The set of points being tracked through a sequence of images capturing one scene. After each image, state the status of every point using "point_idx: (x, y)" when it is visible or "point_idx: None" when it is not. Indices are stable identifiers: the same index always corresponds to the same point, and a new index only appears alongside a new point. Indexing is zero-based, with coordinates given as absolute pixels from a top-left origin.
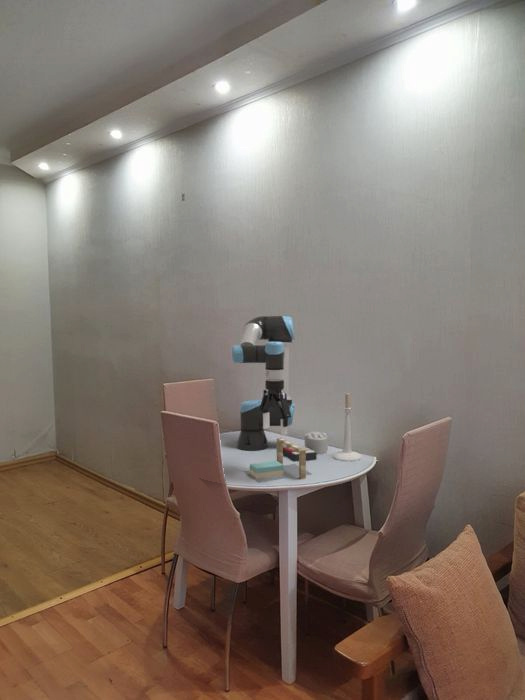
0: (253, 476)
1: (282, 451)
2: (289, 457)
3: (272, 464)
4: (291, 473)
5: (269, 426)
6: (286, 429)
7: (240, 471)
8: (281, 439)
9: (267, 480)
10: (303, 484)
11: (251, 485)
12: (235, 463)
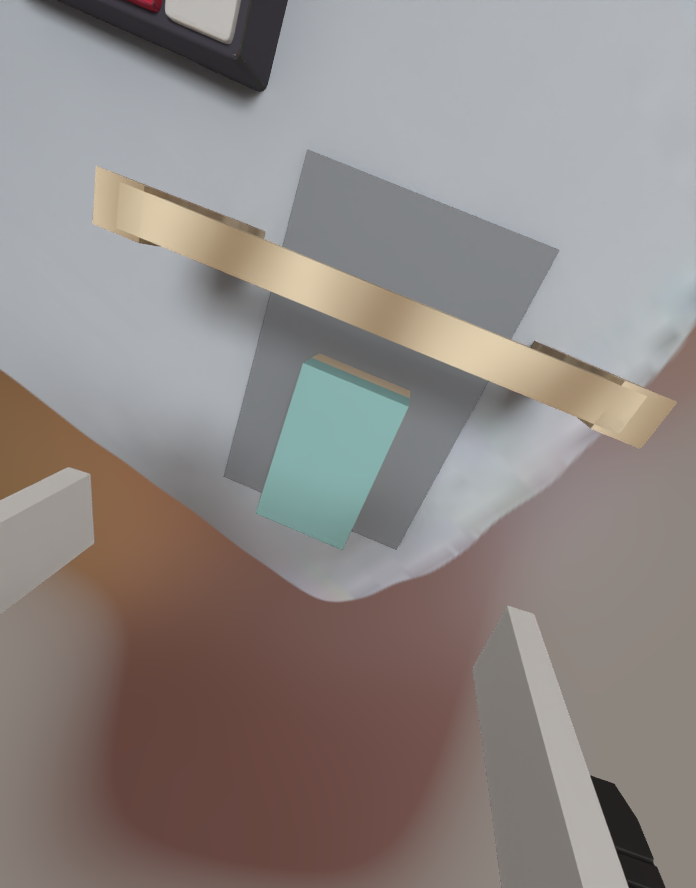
0: None
1: (219, 218)
2: (169, 47)
3: (347, 441)
4: None
5: (70, 484)
6: (549, 695)
7: (210, 476)
8: (167, 229)
9: (409, 510)
10: None
11: (392, 579)
12: (90, 402)
